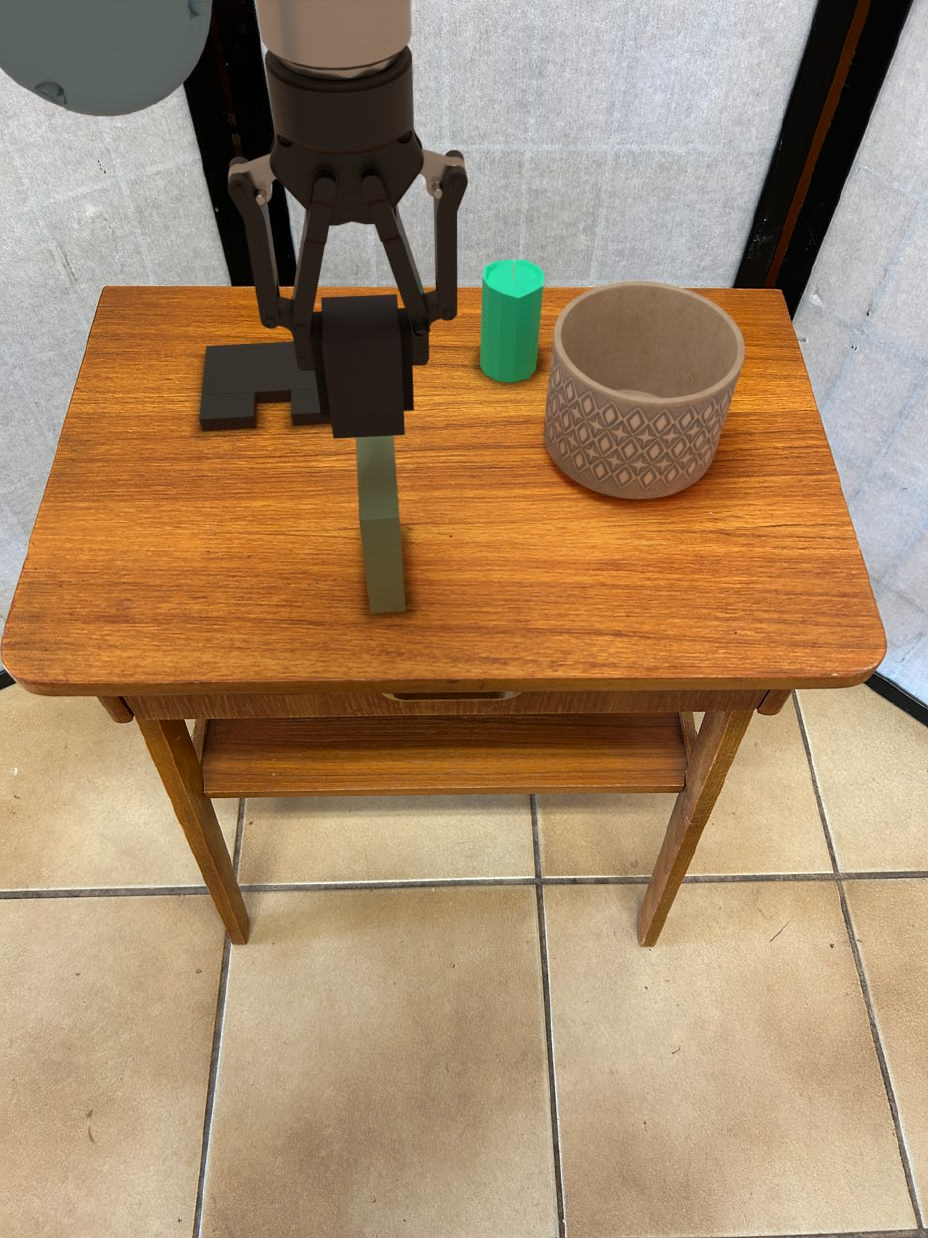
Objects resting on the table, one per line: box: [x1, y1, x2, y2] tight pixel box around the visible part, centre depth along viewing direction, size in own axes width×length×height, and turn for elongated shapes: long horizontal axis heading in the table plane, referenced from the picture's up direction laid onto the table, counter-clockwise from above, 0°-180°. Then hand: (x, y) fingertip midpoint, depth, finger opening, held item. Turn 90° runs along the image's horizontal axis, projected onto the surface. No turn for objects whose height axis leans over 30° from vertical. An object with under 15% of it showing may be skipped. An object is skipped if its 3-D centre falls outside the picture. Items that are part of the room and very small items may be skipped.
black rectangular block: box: [320, 293, 406, 440], centre depth 66 cm, size 5×8×8 cm, turn 5°
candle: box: [479, 258, 545, 384], centre depth 94 cm, size 6×6×12 cm
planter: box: [542, 280, 746, 500], centre depth 87 cm, size 16×16×13 cm
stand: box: [355, 436, 407, 615], centre depth 78 cm, size 3×9×12 cm, turn 5°
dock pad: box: [198, 340, 331, 431], centre depth 96 cm, size 14×11×2 cm
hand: (366, 399), depth 67 cm, fingers closed on black rectangular block, 5 cm apart
